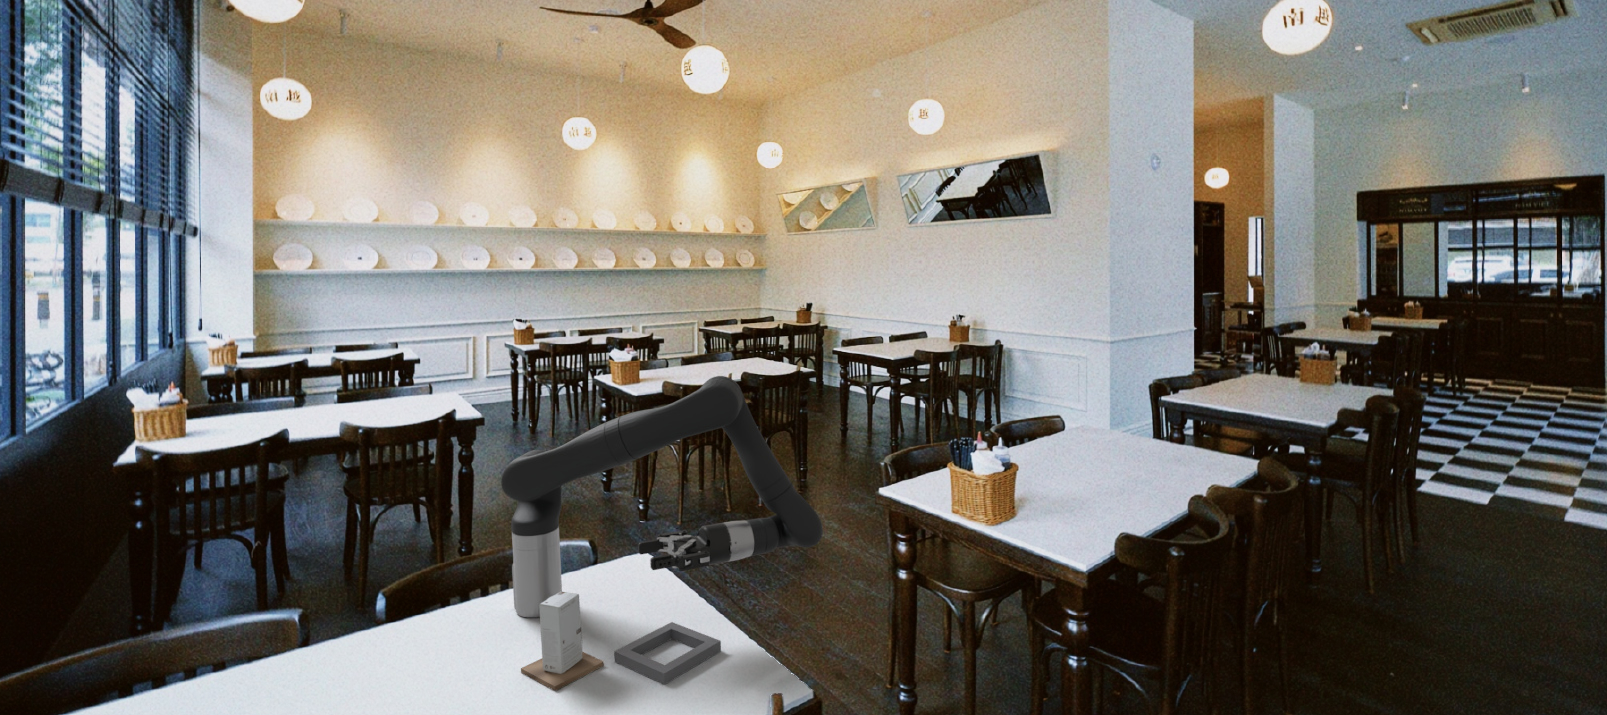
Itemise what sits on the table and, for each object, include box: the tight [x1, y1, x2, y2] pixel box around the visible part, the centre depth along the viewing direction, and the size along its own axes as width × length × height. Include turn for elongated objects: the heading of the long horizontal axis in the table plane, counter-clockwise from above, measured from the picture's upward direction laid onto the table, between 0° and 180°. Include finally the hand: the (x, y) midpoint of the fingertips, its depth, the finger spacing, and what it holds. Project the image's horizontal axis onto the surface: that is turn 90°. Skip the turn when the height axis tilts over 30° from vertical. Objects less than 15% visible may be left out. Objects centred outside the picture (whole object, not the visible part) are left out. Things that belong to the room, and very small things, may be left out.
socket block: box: [613, 621, 722, 686], centre depth 135 cm, size 13×14×2 cm
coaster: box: [520, 651, 605, 692], centre depth 131 cm, size 10×10×1 cm
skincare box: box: [539, 591, 583, 674], centre depth 130 cm, size 6×4×12 cm
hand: (644, 556), depth 137 cm, fingers open, 8 cm apart
